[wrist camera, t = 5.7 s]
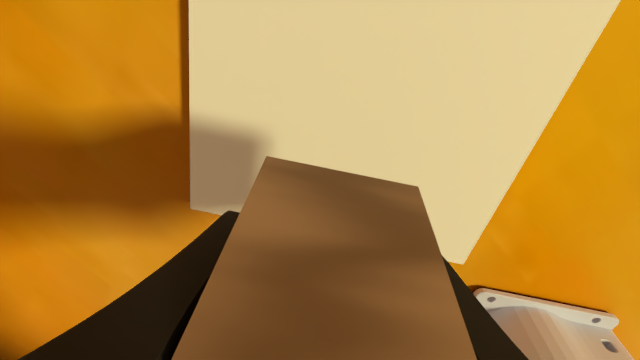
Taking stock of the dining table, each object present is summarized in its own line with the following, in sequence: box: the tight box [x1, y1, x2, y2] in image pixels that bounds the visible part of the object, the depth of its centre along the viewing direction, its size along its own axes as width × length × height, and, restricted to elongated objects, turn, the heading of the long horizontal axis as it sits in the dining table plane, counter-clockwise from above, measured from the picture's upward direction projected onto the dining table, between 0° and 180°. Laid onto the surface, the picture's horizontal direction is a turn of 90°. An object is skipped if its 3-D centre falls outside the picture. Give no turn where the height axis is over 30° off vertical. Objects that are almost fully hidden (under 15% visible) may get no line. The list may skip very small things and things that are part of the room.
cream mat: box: [189, 0, 621, 264], centre depth 15 cm, size 16×16×1 cm
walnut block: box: [171, 156, 477, 360], centre depth 8 cm, size 4×4×6 cm
